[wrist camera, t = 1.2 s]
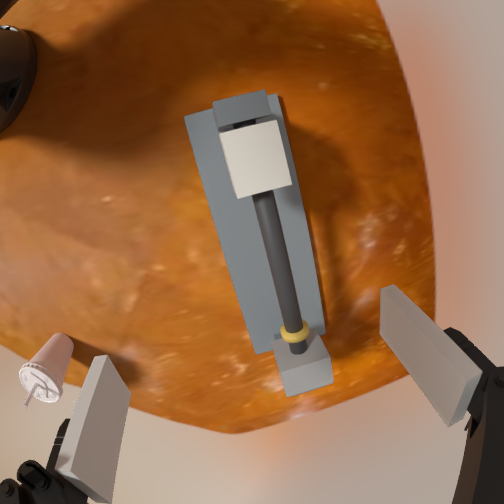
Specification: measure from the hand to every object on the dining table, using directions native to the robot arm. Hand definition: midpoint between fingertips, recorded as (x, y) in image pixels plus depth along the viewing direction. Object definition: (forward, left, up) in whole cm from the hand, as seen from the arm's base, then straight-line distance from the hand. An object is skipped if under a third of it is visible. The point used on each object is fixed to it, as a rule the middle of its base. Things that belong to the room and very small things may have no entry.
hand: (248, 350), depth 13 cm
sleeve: (-7, +4, -16) cm, 18 cm away
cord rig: (+3, +4, -23) cm, 23 cm away
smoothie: (+10, -28, -23) cm, 38 cm away
